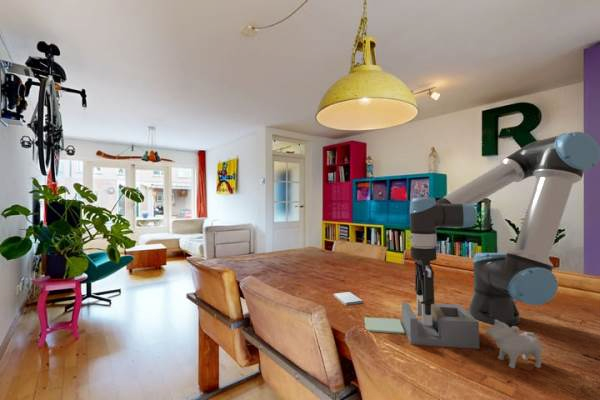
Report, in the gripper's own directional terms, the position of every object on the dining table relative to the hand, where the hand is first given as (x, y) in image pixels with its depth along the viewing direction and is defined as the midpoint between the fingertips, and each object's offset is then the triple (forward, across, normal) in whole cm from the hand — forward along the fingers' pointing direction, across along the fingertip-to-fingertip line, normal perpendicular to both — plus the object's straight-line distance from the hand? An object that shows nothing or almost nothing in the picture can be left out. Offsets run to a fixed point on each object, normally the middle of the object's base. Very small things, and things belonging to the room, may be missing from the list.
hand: (424, 319), depth 90 cm
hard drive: (+5, -30, -24) cm, 39 cm away
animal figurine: (+5, +13, +19) cm, 23 cm away
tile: (-1, 0, +2) cm, 3 cm away
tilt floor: (-1, 0, +2) cm, 2 cm away
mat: (+5, -4, -12) cm, 14 cm away
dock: (+5, 0, +4) cm, 6 cm away
